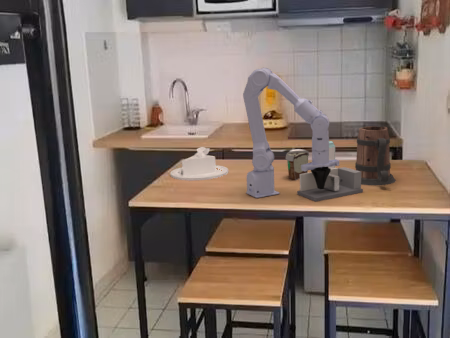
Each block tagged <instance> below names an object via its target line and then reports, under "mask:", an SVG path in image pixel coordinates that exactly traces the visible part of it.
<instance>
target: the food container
mask: <svg viewBox="0 0 450 338" xmlns="http://www.w3.org/2000/svg"><path fill="white" fill-rule="evenodd" d="M309 156H310V151H309V150H305V151H291V152H290V151H287V153H286V154H285V160H286V161H287V162H286V163H287V169H288V170H287V172H288V179H289V180H291V181H299V180H300V174H303V173H309V172H308V171H309V170H307V171H302V170H301V165H304V164H307V163H309Z"/></svg>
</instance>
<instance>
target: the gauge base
mask: <svg viewBox="0 0 450 338" xmlns="http://www.w3.org/2000/svg"><path fill="white" fill-rule="evenodd" d="M330 174H333V175H336V176H339V178H342V182H340V183H339V191H332V190H329V189H326V188H324V189H318V188H317V184H316V181H315V178H314V176H313V174H312V172H311V171H310V172H308V173H303V174H300V179H299V190H297V191H296V194H297V195H298V196H300V197H303V198H306V199H308V200H311V201H313V202H322V201H326V200H331V199H336V198H341V197H345V196H349V195H350V196H351V195H355V194H356V195H357V194H361V193H364V188H362V185H361V172H360V171H357V170H356V169H352V168H350V167H346V166H345V167H344V166H343V167H335V168H333V169H331V172H330Z"/></svg>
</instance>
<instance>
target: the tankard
mask: <svg viewBox="0 0 450 338" xmlns="http://www.w3.org/2000/svg"><path fill="white" fill-rule="evenodd" d="M390 143H391V138H390V135H389V129H388V127H387V126H373V125H372V126H363V127H359V129H358V134H357V138H356V144H357V145H356V160H355V163H354V164H355V166H354V168H355V170H357V171H360V172H361V186H373V187H374V186H387V185H392V184H394V183H396V181H397V180H396V179H395V176H393V174H392V173H391V168H392V167H391V162H390Z"/></svg>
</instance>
